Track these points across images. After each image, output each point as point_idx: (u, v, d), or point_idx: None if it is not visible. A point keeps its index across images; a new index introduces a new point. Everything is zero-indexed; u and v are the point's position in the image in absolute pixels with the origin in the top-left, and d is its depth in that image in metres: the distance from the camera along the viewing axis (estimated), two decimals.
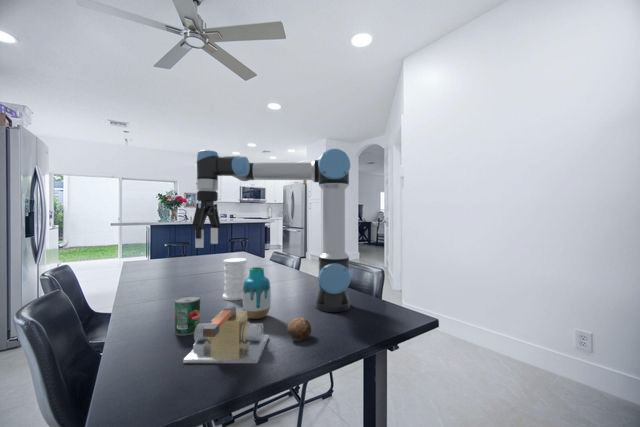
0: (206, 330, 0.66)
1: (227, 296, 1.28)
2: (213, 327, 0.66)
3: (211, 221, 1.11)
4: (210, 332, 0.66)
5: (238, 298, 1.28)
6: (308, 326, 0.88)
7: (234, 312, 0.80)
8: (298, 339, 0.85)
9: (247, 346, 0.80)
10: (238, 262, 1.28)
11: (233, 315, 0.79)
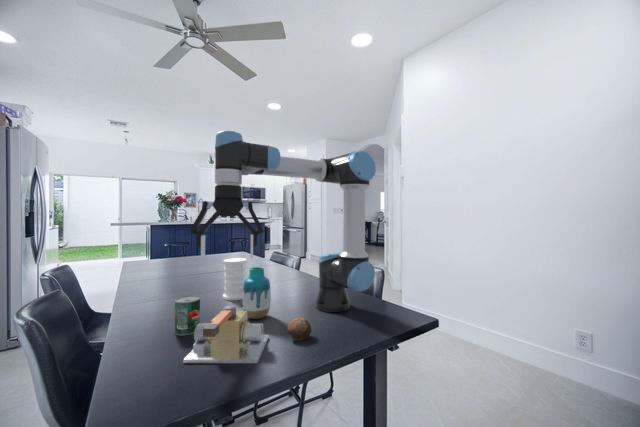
0: (206, 330, 0.66)
1: (227, 296, 1.28)
2: (213, 327, 0.66)
3: None
4: (210, 332, 0.66)
5: (238, 298, 1.28)
6: (308, 326, 0.88)
7: (234, 312, 0.80)
8: (298, 339, 0.85)
9: (247, 346, 0.80)
10: (238, 262, 1.28)
11: (233, 315, 0.79)
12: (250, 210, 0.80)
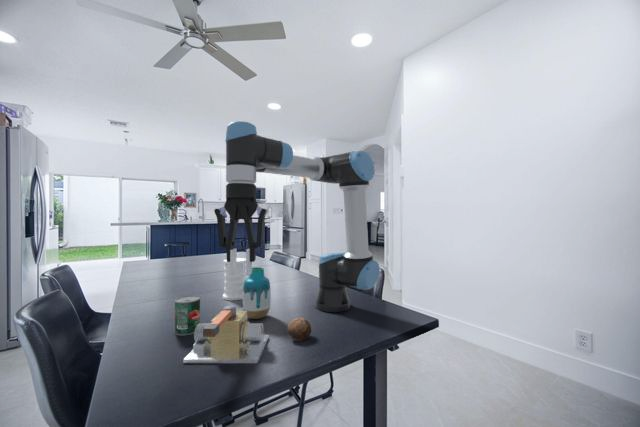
0: (206, 330, 0.66)
1: (227, 296, 1.28)
2: (213, 327, 0.66)
3: None
4: (210, 332, 0.66)
5: (238, 298, 1.28)
6: (308, 326, 0.88)
7: (234, 312, 0.80)
8: (298, 339, 0.85)
9: (247, 346, 0.80)
10: (238, 262, 1.28)
11: (233, 315, 0.79)
12: (259, 217, 0.69)
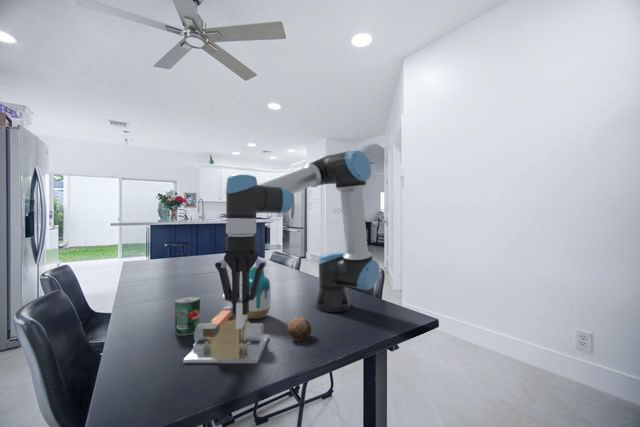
0: (206, 330, 0.66)
1: None
2: (213, 327, 0.66)
3: None
4: (210, 332, 0.66)
5: None
6: (308, 326, 0.88)
7: None
8: (298, 339, 0.85)
9: (247, 346, 0.80)
10: None
11: (233, 315, 0.79)
12: (257, 271, 0.69)
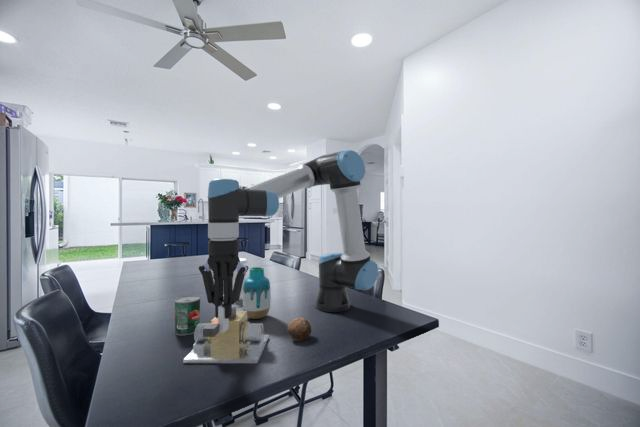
0: (206, 330, 0.66)
1: None
2: (213, 327, 0.66)
3: None
4: (210, 332, 0.66)
5: None
6: (308, 326, 0.88)
7: (234, 312, 0.80)
8: (298, 339, 0.85)
9: (247, 346, 0.80)
10: None
11: (233, 315, 0.79)
12: (237, 275, 0.68)
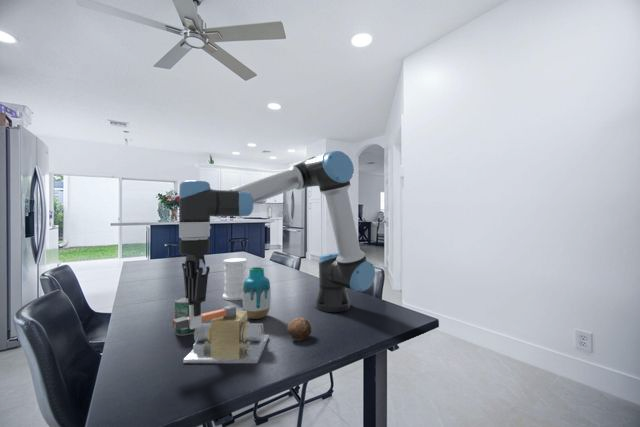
0: (173, 321, 0.71)
1: (227, 296, 1.28)
2: (178, 321, 0.70)
3: None
4: (174, 324, 0.70)
5: (238, 298, 1.28)
6: (308, 326, 0.88)
7: (229, 313, 0.79)
8: (298, 339, 0.85)
9: (247, 346, 0.80)
10: (238, 262, 1.28)
11: (228, 316, 0.79)
12: (197, 275, 0.69)
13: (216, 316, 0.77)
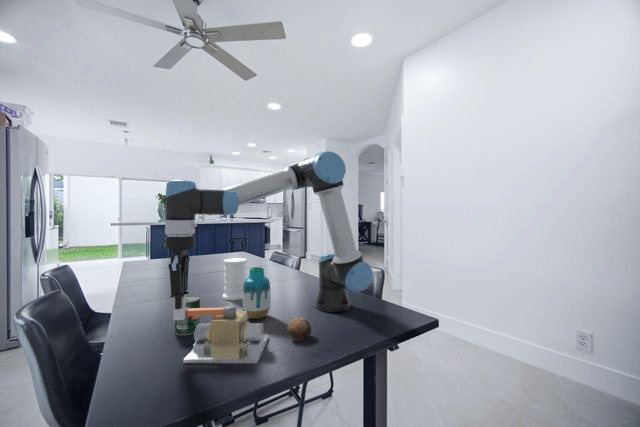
0: None
1: (227, 296, 1.28)
2: None
3: None
4: None
5: (238, 298, 1.28)
6: (308, 326, 0.88)
7: (226, 313, 0.79)
8: (298, 339, 0.85)
9: (247, 346, 0.80)
10: (238, 262, 1.28)
11: (224, 316, 0.79)
12: None
13: (213, 313, 0.79)
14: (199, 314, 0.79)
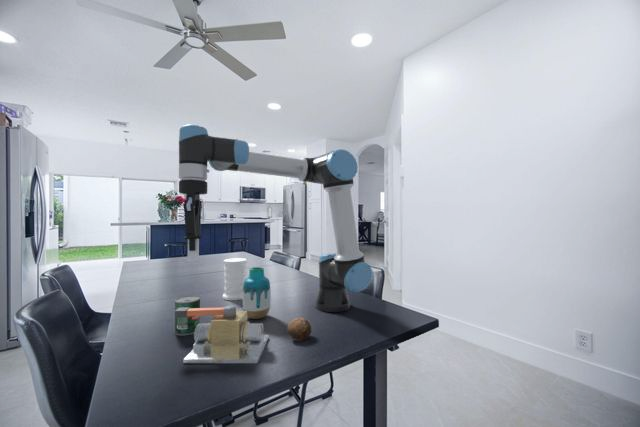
0: None
1: (227, 296, 1.28)
2: (178, 310, 0.78)
3: None
4: None
5: (238, 298, 1.28)
6: (308, 326, 0.88)
7: (226, 313, 0.79)
8: (298, 339, 0.85)
9: (247, 346, 0.80)
10: (238, 262, 1.28)
11: (224, 316, 0.79)
12: None
13: (213, 313, 0.79)
14: (199, 314, 0.79)
